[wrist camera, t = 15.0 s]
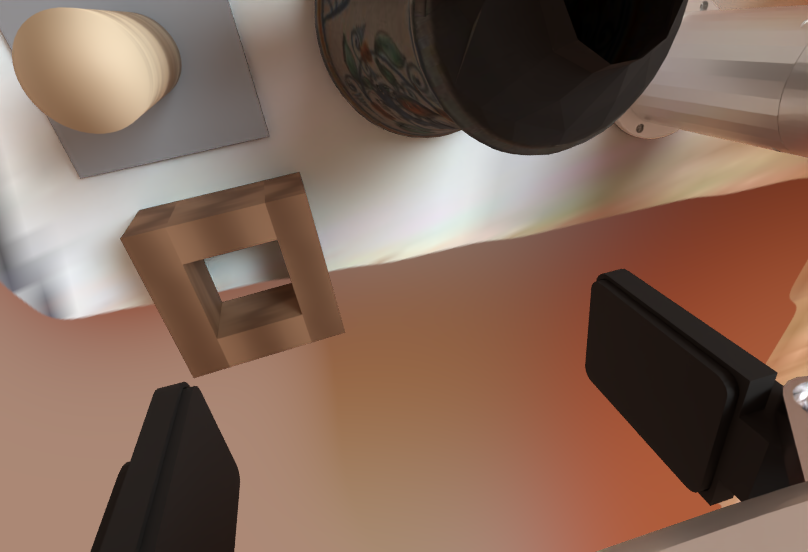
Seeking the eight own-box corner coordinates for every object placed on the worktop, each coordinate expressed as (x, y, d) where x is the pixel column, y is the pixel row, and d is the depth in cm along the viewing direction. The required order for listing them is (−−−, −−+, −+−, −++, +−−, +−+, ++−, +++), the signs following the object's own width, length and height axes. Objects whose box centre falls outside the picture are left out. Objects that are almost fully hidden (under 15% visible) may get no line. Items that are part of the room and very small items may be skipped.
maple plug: (160, 4, 30) (114, -5, 20) (194, 89, 33) (168, 119, 23) (75, 21, 30) (-17, 21, 20) (117, 107, 32) (55, 145, 22)
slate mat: (202, -83, 30) (201, -85, 29) (268, 134, 37) (269, 136, 36) (-35, -49, 27) (-43, -51, 27) (84, 175, 34) (80, 178, 34)
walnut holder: (299, 171, 39) (305, 192, 34) (335, 298, 45) (345, 332, 40) (139, 210, 37) (120, 238, 32) (201, 337, 43) (193, 378, 38)
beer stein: (505, 120, 42) (764, 209, 20) (290, 144, 38) (334, 287, 16) (518, -112, 34) (960, -361, 13) (246, -115, 30) (221, -495, 8)
